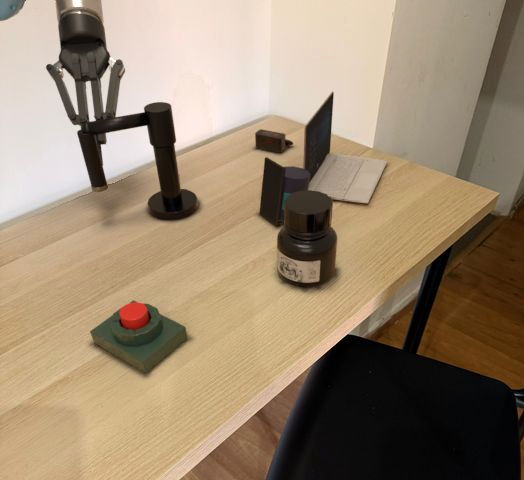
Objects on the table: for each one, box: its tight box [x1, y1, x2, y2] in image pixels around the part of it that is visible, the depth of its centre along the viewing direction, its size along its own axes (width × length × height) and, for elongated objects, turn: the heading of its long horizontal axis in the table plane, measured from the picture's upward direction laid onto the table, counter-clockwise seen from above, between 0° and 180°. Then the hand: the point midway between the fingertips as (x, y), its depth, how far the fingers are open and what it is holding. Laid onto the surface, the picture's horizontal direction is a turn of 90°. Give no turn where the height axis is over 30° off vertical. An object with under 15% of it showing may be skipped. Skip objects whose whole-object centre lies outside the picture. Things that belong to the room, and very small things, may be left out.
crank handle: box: [76, 101, 177, 193], centre depth 88 cm, size 16×4×12 cm, turn 113°
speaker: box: [258, 156, 311, 228], centre depth 91 cm, size 8×6×10 cm
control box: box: [89, 299, 188, 374], centre depth 71 cm, size 10×8×4 cm
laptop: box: [302, 90, 388, 204], centre depth 99 cm, size 18×12×13 cm
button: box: [119, 301, 149, 330], centre depth 69 cm, size 4×4×2 cm
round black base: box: [147, 144, 199, 221], centre depth 94 cm, size 9×9×12 cm
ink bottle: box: [276, 190, 338, 288], centre depth 79 cm, size 10×9×12 cm
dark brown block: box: [254, 129, 294, 154], centre depth 114 cm, size 5×7×3 cm, turn 62°
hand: (97, 162), depth 90 cm, fingers closed
